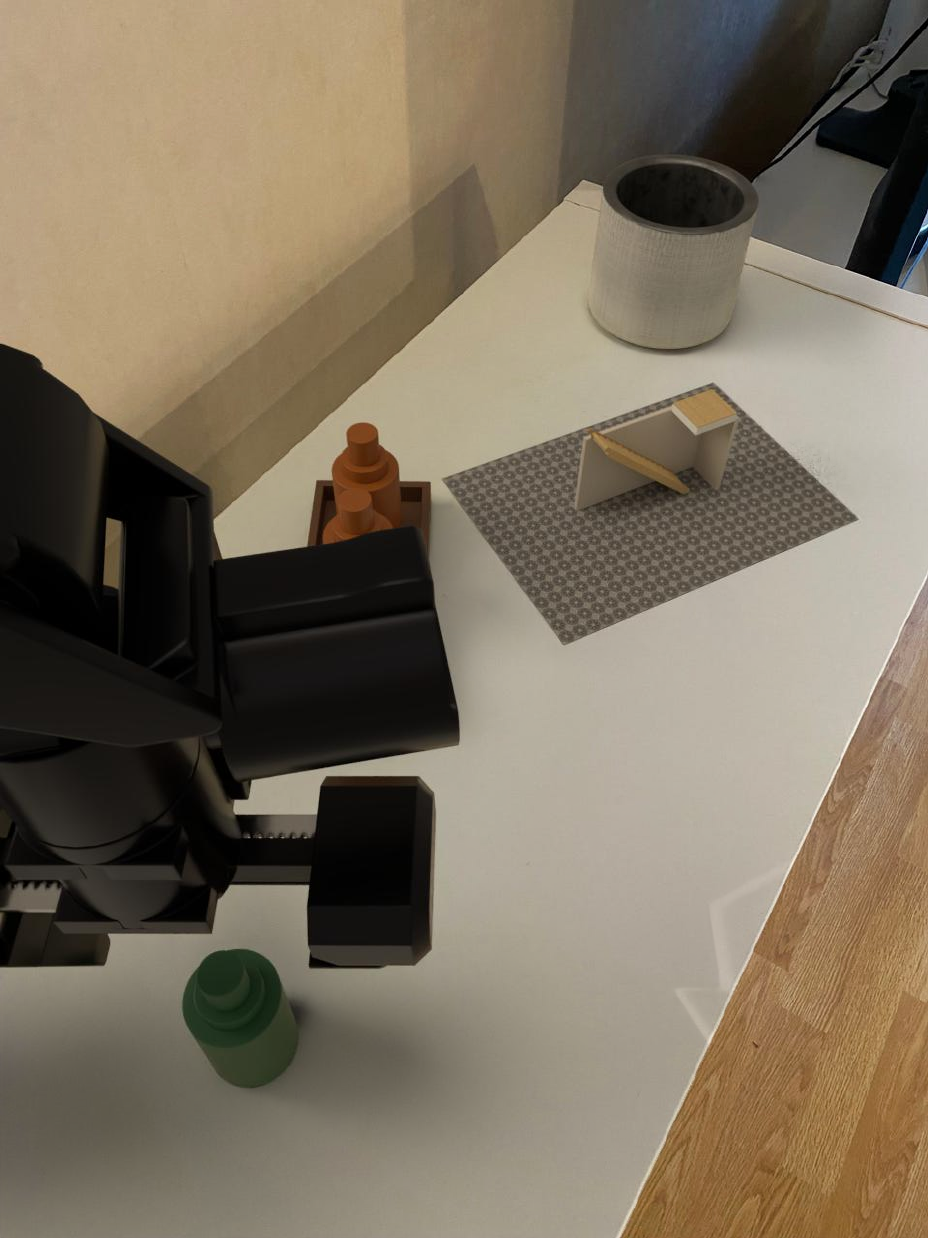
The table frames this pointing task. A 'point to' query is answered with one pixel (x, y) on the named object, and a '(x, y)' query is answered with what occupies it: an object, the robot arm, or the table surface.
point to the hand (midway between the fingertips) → (215, 954)
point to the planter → (670, 250)
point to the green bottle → (241, 1017)
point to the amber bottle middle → (354, 517)
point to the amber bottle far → (369, 472)
